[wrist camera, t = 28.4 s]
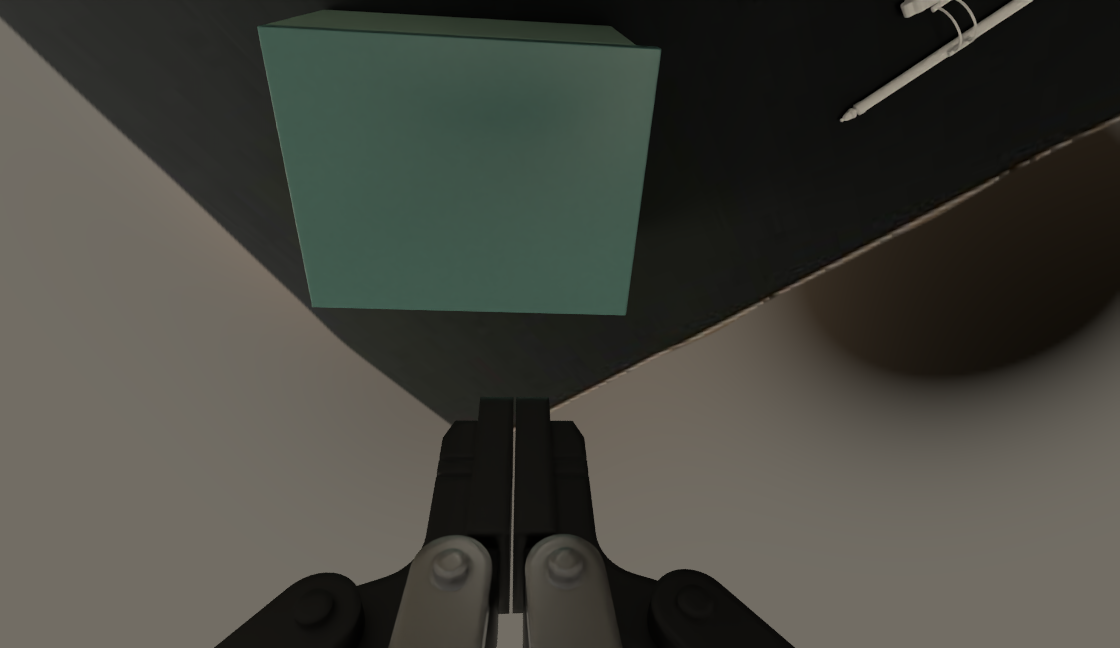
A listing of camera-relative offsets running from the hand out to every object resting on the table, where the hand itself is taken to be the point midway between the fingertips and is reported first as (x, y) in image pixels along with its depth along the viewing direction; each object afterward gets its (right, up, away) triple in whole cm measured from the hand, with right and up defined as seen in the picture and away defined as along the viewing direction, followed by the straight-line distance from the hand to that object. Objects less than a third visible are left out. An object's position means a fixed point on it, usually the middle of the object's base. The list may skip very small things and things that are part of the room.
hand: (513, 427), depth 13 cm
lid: (-3, +9, +15) cm, 18 cm away
